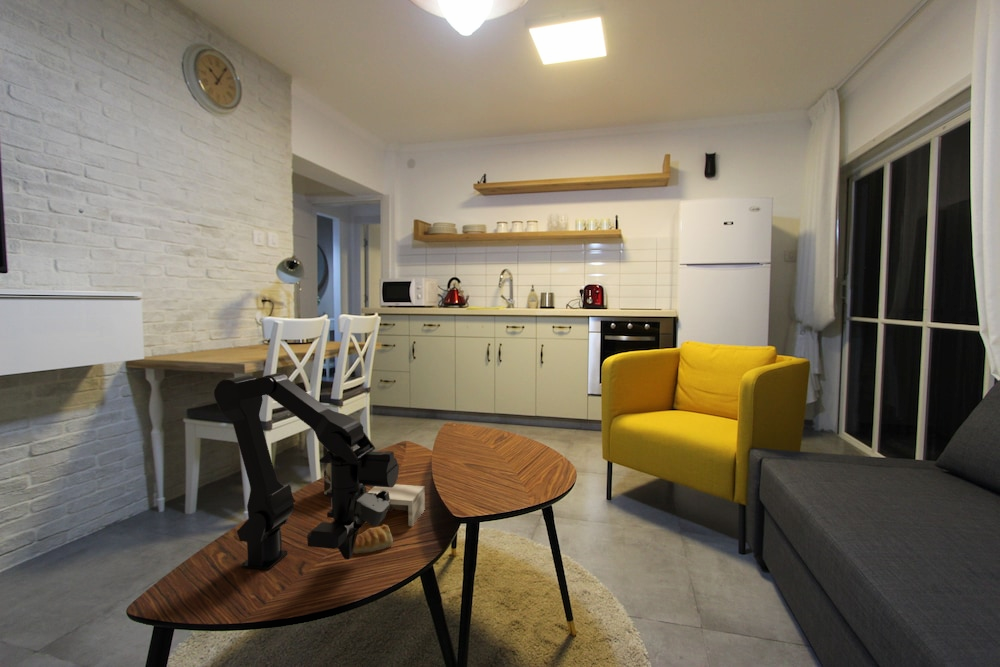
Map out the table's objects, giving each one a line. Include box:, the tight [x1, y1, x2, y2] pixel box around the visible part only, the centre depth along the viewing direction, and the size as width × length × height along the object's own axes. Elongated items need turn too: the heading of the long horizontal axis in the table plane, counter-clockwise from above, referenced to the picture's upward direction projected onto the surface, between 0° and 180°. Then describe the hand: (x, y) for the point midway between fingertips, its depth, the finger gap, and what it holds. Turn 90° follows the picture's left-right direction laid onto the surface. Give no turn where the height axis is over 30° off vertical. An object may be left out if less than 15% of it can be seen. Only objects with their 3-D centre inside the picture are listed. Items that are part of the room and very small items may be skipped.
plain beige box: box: [365, 483, 426, 527], centre depth 114 cm, size 9×13×6 cm
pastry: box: [352, 524, 394, 554], centre depth 100 cm, size 9×7×4 cm
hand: (347, 558), depth 91 cm, fingers closed
